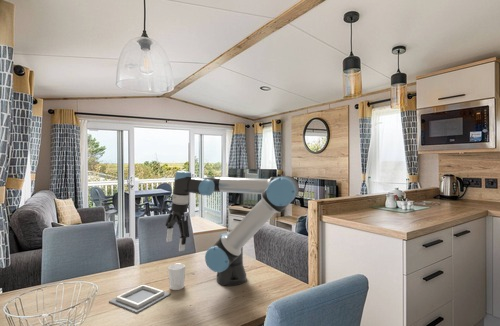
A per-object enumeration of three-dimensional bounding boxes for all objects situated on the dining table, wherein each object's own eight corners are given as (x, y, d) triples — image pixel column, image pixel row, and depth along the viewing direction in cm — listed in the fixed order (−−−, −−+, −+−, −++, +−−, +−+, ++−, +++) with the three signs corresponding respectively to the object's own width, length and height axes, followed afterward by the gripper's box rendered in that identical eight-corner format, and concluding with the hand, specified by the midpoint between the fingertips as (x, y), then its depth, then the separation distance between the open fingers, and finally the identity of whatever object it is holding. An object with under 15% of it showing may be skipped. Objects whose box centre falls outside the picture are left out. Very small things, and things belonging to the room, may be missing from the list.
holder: (170, 294, 127) (170, 290, 127) (136, 313, 111) (136, 308, 111) (143, 286, 136) (143, 281, 136) (108, 302, 120) (108, 297, 120)
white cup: (170, 292, 129) (170, 270, 129) (166, 285, 136) (166, 265, 136) (187, 288, 132) (187, 267, 132) (183, 282, 139) (183, 262, 139)
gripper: (161, 197, 142) (157, 238, 143) (185, 209, 124) (179, 256, 125) (175, 197, 147) (170, 236, 148) (200, 208, 129) (194, 253, 130)
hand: (174, 245), depth 137 cm, fingers open, 13 cm apart
